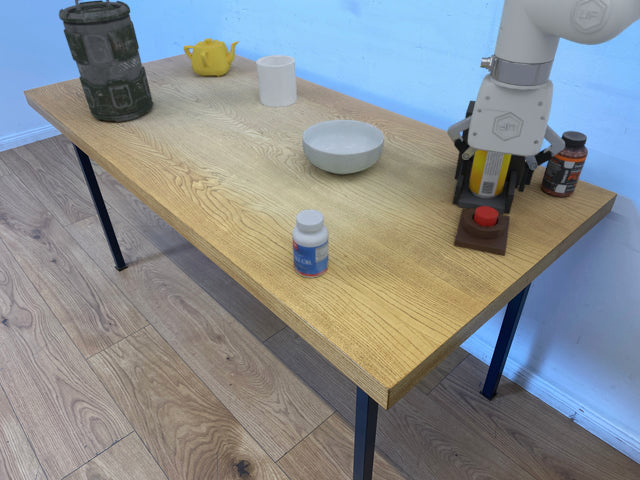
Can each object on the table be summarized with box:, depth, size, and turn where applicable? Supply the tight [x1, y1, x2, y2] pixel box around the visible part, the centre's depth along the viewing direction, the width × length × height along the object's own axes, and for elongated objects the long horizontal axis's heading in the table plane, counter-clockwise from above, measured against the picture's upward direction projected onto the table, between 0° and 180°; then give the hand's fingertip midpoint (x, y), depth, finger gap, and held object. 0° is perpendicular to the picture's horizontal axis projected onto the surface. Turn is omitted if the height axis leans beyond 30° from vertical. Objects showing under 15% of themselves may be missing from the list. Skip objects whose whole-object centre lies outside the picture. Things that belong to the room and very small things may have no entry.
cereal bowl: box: [301, 119, 385, 175], centre depth 98 cm, size 17×17×7 cm
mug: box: [256, 54, 298, 108], centre depth 128 cm, size 14×10×11 cm
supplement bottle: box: [540, 130, 589, 198], centre depth 87 cm, size 6×6×11 cm
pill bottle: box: [291, 208, 330, 279], centre depth 71 cm, size 6×5×10 cm
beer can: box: [469, 150, 511, 198], centre depth 84 cm, size 6×6×15 cm
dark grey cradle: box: [452, 100, 526, 215], centre depth 87 cm, size 12×16×14 cm
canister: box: [58, 0, 154, 123], centre depth 118 cm, size 16×16×28 cm
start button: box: [474, 206, 498, 227], centre depth 78 cm, size 4×4×2 cm
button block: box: [453, 207, 511, 256], centre depth 79 cm, size 8×10×3 cm
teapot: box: [183, 37, 240, 77], centre depth 147 cm, size 14×13×10 cm
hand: (493, 182), depth 74 cm, fingers open, 7 cm apart
